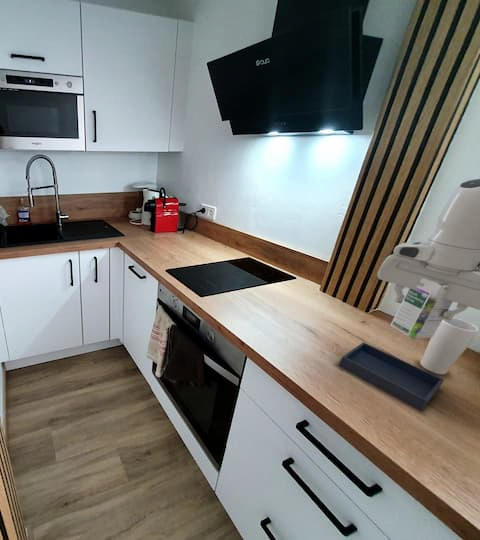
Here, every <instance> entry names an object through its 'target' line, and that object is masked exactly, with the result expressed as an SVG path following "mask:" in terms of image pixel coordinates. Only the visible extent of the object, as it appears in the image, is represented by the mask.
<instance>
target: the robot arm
mask: <svg viewBox="0 0 480 540" xmlns="http://www.w3.org/2000/svg"><path fill="white" fill-rule="evenodd" d="M376 276H377V278H378V280H380V281H384V282H388V283H390V284H394V285H395V286H394V291H395V294H396V297H395V300H394V302H395V303H397V304H401V303H402V301H403V299H404V297H405V295H404V291H403V290H404V289H405V288H406V289H409V288H410V289H415V288H416V287H417V285H418V284H419V282H420V280H421V279H422V278H426V279H430V280H434V281H438V282H442V283H446V284H449V285H448V289H447V291H446V293H445V294H444V296H443V299H446V300H449V301H452V302H453V303H456V306H455V307H456V308H455V309H453V310H446V311H445V312H444V315H443V316H442V317H441V318H444V319H447V320H450V321H451V320H452V318H455V315H457V314H459V313H463V312H465V311H466V310H467V309H468V307H469V308H472V309H475V310H479V311H480V178H477V179H470V180H467V181H464V182H462V183H460V184H459V185H458V186H457V187H455V188H454V190H453V191H452V192H451V193H450V194H449V197H448V198H447V200H446V201H445V203H444V205H443V206H442V208H441V210H440V212H439V214H438V217H437V218H436V226H435V228H434V230H433V232H431V234H430V235H429V236H428V237H427V239H426V241H407V242H402V243H400V244H398V245H396V246H395V247H394V248H393V253H392V254H390V255H389V256H387V257H386V258H385V259H384V260H383V261H382V263H381V265H380V266H379V268H378V271H377V272H376Z"/></svg>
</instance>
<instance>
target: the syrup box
mask: <svg viewBox="0 0 480 540" xmlns="http://www.w3.org/2000/svg"><path fill="white" fill-rule="evenodd" d="M448 285H449V284H446V283H442V282H438V281H434V280H430V279H426V278H422V279H421V280H420V282H419V284H418V285H417V287H416V288H415V289H410V288H407V291H406V293H405V295H404V296H405V297H404V299H403V301H402V303H400V305H399V307H398V309H397V311H396V312H395V315H394V316H393V319H392V320H391V323H390V325H389V326H390V327H391V328H393V329H396V331H399V332H400V333H402V334H404V335H405V336H407V337H408V338H410V339H412V340H417V339H419V340H420V339H430V338H432V337H433V336H434V334H435V332H436V330H437V328H438V327H439V325H440V323H441V322H442V320H443V318H441V317H442V316H443V315H444V312H445V311H446V310H449V309H450V308H451V306H452V304H453V303H454V302H452V301H449V300H446V299H443V296H444V294H445V293H446V291H447V289H448Z"/></svg>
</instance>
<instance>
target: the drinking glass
mask: <svg viewBox="0 0 480 540" xmlns="http://www.w3.org/2000/svg"><path fill="white" fill-rule="evenodd" d="M478 332H479V328H478V327H477V326H476V325H474V324H473V323H471V322H470V321H469V322H468V321H466V320H463V319H460V318H457V317H453V318H452V320H451V321H450V320H447V319H444V318H443V320H442V322H441V323H440V325H439V327H438V328H437V330H436V332H435V334H434V336H433V337H432V338H429V341H428V344H427V346H426V348H425V351H424V353H423V355H422V358H421V359H420V366H421V367H422V368H423V369H425V370H426V371H427V372H429V373H432V374H437V375H446V374H448V372H449V371H450V369H451V368H452V366H453V365H454V364H455V363H456V362H457V361H458V360H459V358H460V357H461V355H463V354H464V352H465V351H466V349H467V348H468V347H469V346H470V345H471V343H472V342H473V340H474V339H475V337H476V336H477V334H478Z"/></svg>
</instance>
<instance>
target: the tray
mask: <svg viewBox="0 0 480 540" xmlns="http://www.w3.org/2000/svg"><path fill="white" fill-rule="evenodd" d="M338 366H339V367H341V368H343V369H344V370H346V371H348V372H350V373H352V374H353V375H355V376H357V377H358V378H361V379H363V380H364V381H366V382H368V383H369V384H371V385H373V386H374V387H377V388H379V389H381V390H382V391H385V392H386V393H388V394H390V395H392V396H394V397H395V398H397V399H398V400H401V401H403V402H404V403H406V404H408V405H410V406H412V407H413V408H415V409H416V410H419V411H421V412H422V411H423V410H424V408H425V407H426V406H427V404H428V403H429V402H430V401H431V399H432V398H433V397H434V396H435V394H436V393H437V392H438V391H439V389H440V387H441V386H442V385H443V383H444V381H445V379H444V378H443V377H440V376H437V375H435V374H434V373H432V372H430V371H428V370H426V369H425V370H424V369H423V368H420V367H418V366H416V365H413V364H411V363H410V362H408V361H406V360H403V359H401V358H399V357H396V356H395V355H392V354H390V353H388V352H386V351H384V350H382V349H379V348H377V347H375V346H373V345H371V344H369V343H367V342H364V341H363V342H361V343H359V345H357V346H355V347H354V348H353V349H352V350H350V351H348V352H347V353H345V354H344V355H343V356H342V357H341V359H340V362H339V364H338Z"/></svg>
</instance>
